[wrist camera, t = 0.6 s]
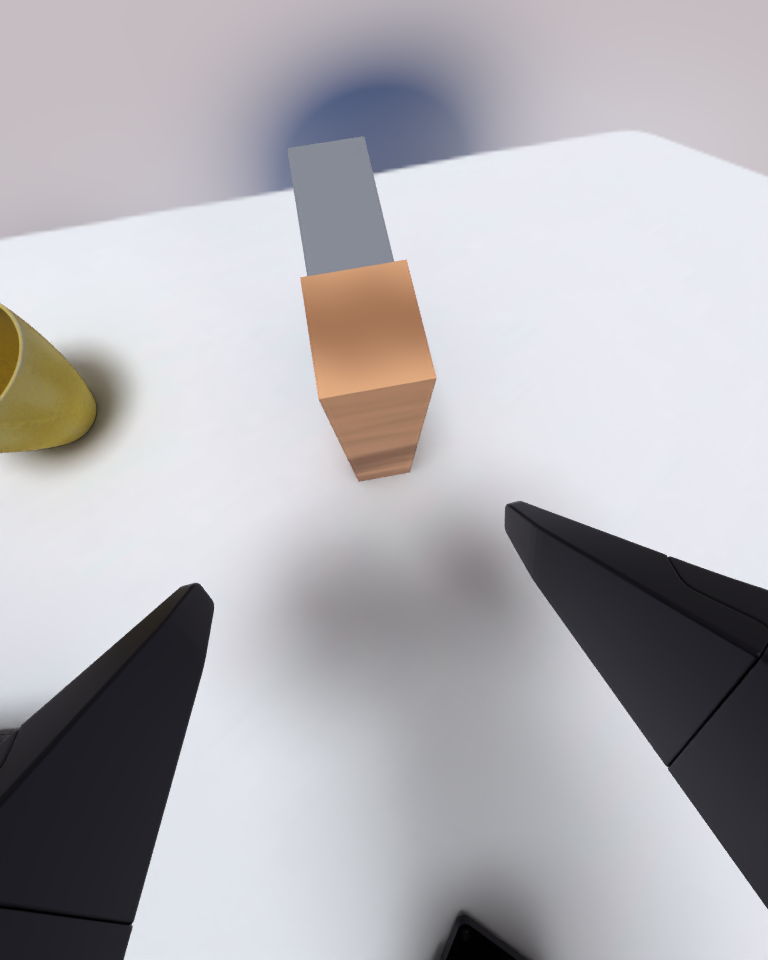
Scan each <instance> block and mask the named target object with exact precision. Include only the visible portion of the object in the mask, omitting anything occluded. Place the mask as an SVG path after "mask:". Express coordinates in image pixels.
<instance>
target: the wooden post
mask: <svg viewBox="0 0 768 960" xmlns="http://www.w3.org/2000/svg"><path fill="white" fill-rule="evenodd" d="M301 285H302V292H303V298H304V305H305V312H306V318H307V325H308V332H309V338H310V345H311V352H312V358H313V365H314V372H315V378H316V385H317V391H318V398H319V401H320V403H321V405H322V407H323V409H324V411H325V413H326V415H327V417H328V419H329V421H330V424H331V426H332V428H333V430H334V432H335V434H336V436H337V438H338V440H339V442H340V444H341V446H342V448H343V450H344V452H345V454H346V456H347V459H348V461H349V463H350V465H351V467H352V469H353V471H354V473H355V475H356V477H357V479H358V481H364V480H370V479H375V478H380V477H386V476H391V475H397V474H402V473H407V472H410V469H411V465H412V462H413V458H414V455H415V451H416V448H417V444H418V441H419V437H420V434H421V430H422V427H423V423H424V420H425V416H426V413H427V409H428V406H429V402H430V399H431V395H432V392H433V388H434V385H435V381H436V374H435V371H434V367H433V363H432V359H431V355H430V351H429V347H428V343H427V339H426V335H425V331H424V327H423V323H422V319H421V315H420V311H419V307H418V303H417V299H416V295H415V291H414V287H413V283H412V279H411V275H410V271H409V267H408V263H407V260H402V261H396V262H390V263H384V264H378V265H372V266H366V267H360V268H354V269H348V270H342V271H336V272H330V273H324V274H319V275H313V276H307V277H301Z"/></svg>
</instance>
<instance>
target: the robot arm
mask: <svg viewBox="0 0 768 960" xmlns="http://www.w3.org/2000/svg"><path fill="white" fill-rule="evenodd" d="M505 530H506V533H507V535H508V537H509V538H510V540H511V542H512V544H513V545H514V547H515V549H516V551H517V553H518V554H519V556H520V558H521V560H522V562H523V563H524V565H525V567H526V569H527V570H528V572H529V574H530V575H531V577H532V579H533V580H534V582H535V583H536V585H537V586H538V588H539V589H540V590H541V592H542V593H543V595H544V596H545V597H546V599H547V600H548V602H549V603H550V604H551V606H552V607H553V609H554V610H555V611H556V613H557V614H558V616H559V617H560V618H561V620H562V621H563V623H564V624H565V625H566V627H567V628H568V630H569V631H570V632H571V634H572V635H573V637H574V638H575V639H576V641H577V642H578V644H579V645H580V646H581V648H582V649H583V651H584V652H585V653H586V655H587V656H588V658H589V659H590V660H591V662H592V663H593V665H594V666H595V667H596V669H597V670H598V672H599V673H600V674H601V676H602V677H603V679H604V680H605V681H606V683H607V684H608V686H609V687H610V688H611V690H612V691H613V693H614V694H615V695H616V697H617V698H618V700H619V701H620V702H621V704H622V705H623V707H624V708H625V709H626V711H627V712H628V714H629V715H630V716H631V718H632V719H633V721H634V722H635V723H636V725H637V726H638V728H639V729H640V730H641V732H642V733H643V735H644V736H645V737H646V739H647V740H648V742H649V743H650V744H651V746H652V747H653V749H654V750H655V751H656V753H657V754H658V756H659V757H660V758H661V760H662V761H663V763H664V764H665V765H666V766H667V767H668V770H669V771H670V773H671V774H672V776H673V777H674V778H675V780H676V781H677V783H678V784H679V785H680V787H681V788H682V790H683V791H684V792H685V794H686V795H687V797H688V798H689V799H690V801H691V802H692V804H693V805H694V806H695V808H696V809H697V811H698V812H699V813H700V815H701V816H702V818H703V819H704V820H705V822H706V823H707V825H708V826H709V827H710V829H711V830H712V832H713V833H714V834H715V836H716V837H717V839H718V840H719V842H720V843H721V844H722V846H723V847H724V849H725V850H726V851H727V853H728V854H729V856H730V857H731V858H732V860H733V861H734V863H735V864H736V865H737V867H738V868H739V870H740V871H741V872H742V874H743V875H744V877H745V878H746V879H747V881H748V882H749V884H750V885H751V886H752V888H753V889H754V891H755V892H756V893H757V895H758V896H759V898H760V899H761V900H762V902H763V903H764V905H765V906H766V907H767V909H768V590H766V589H763V588H760V587H757V586H754V585H751V584H748V583H745V582H742V581H739V580H736V579H733V578H730V577H727V576H724V575H721V574H718V573H715V572H712V571H710V570H707V569H704V568H701V567H698V566H695V565H693V564H690V563H687V562H685V561H682V560H679V559H676V558H674V557H671V556H669V557H667V555H665V554H663V553H660V552H657V551H655V550H652V549H649V548H646V547H644V546H641V545H638V544H636V543H633V542H630V541H628V540H625V539H622V538H619V537H617V536H614V535H611V534H609V533H606V532H603V531H601V530H598V529H595V528H592V527H590V526H587V525H584V524H582V523H579V522H576V521H573V520H571V519H568V518H565V517H563V516H560V515H557V514H555V513H552V512H549V511H546V510H544V509H541V508H538V507H536V506H533V505H530V504H528V503H525V502H522V501H517V502H513V503H509V504H507V505H506V507H505ZM213 613H214V603H213V601H212V599H211V598H210V596H209V595H208V594H207V592H206V591H205V590H204V588H203V587H202V586H201V585H200V584H198V583H192V584H188V585H185V586H182V587H180V588H179V589H178V590H176V591H175V592H174V593H173V594H172V595H171V596H170V597H168V598H167V599H166V600H165V601H164V602H163V603H162V604H160V605H159V606H158V607H157V608H156V609H155V610H153V611H152V612H151V613H150V614H149V615H148V616H147V617H145V618H144V619H143V620H142V621H141V622H140V623H139V624H137V625H136V626H135V627H134V628H133V629H132V630H130V631H129V632H128V633H127V634H126V635H125V636H124V637H122V638H121V639H120V640H119V641H118V642H117V643H116V644H114V645H113V646H112V647H111V648H110V649H109V650H107V651H106V652H105V653H104V654H103V655H102V656H101V657H99V658H98V659H97V660H96V661H95V662H94V663H93V664H91V665H90V666H89V667H88V668H87V669H86V670H84V671H83V672H82V673H81V674H80V675H79V676H78V677H76V678H75V679H74V680H73V681H72V682H71V683H70V684H68V685H67V686H66V687H65V688H64V689H63V690H61V691H60V692H59V693H58V694H57V695H56V696H55V697H53V698H52V699H51V700H50V701H49V702H48V703H47V704H45V705H44V706H43V707H42V708H41V709H40V710H38V711H37V712H36V713H35V714H34V715H33V716H32V717H30V718H29V719H28V720H27V721H26V722H25V723H24V724H22V725H21V727H20V729H17V730H15V731H14V732H13V733H12V734H11V735H10V736H8V737H7V738H6V739H5V740H4V741H3V742H2V743H0V960H124V956H125V952H126V949H127V945H128V941H129V938H130V934H131V931H132V923H133V922H134V919H135V915H136V911H137V908H138V904H139V901H140V897H141V893H142V890H143V886H144V882H145V879H146V875H147V872H148V868H149V864H150V861H151V857H152V853H153V850H154V846H155V842H156V839H157V835H158V832H159V828H160V824H161V821H162V817H163V813H164V810H165V806H166V803H167V799H168V795H169V792H170V788H171V784H172V781H173V777H174V774H175V770H176V766H177V763H178V759H179V755H180V752H181V748H182V744H183V741H184V737H185V734H186V730H187V726H188V723H189V719H190V715H191V712H192V708H193V705H194V701H195V697H196V694H197V690H198V686H199V683H200V679H201V676H202V672H203V668H204V663H205V658H206V653H207V647H208V642H209V636H210V630H211V624H212V618H213ZM465 929H466V930H467V931H466V932H463V930H465ZM440 960H528V959H526V958H525V957H523V956H522V955H521V954H519V953H518V952H517V951H515V950H514V949H512V948H511V947H510V946H508V945H507V944H506V943H504V942H503V941H501V940H500V939H499V938H497V937H496V936H494V935H493V934H492V933H490V932H489V931H488V930H486V929H485V928H483V927H482V926H481V925H479V924H478V923H477V922H475V921H474V920H472V919H471V918H470V917H468V916H466V915H461V916H459V917H458V918H457V920H456V922H455V924H454V927H453V930H452V932H451V935H450V937H449V940H448V942H447V945H446V947H445V950H444V952H443V955H442V957H441V959H440Z"/></svg>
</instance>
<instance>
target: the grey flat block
mask: <svg viewBox="0 0 768 960" xmlns="http://www.w3.org/2000/svg"><path fill="white" fill-rule="evenodd" d="M287 150H288V156H289V163H290V169H291V175H292V182H293V188H294V194H295V201H296V207H297V214H298V220H299V226H300V233H301V239H302V245H303V252H304V258H305V265H306V271H307V276H313V275H319V274H324V273H330V272H336V271H342V270H348V269H354V268H360V267H366V266H372V265H378V264H384V263H390V262H394V259H393V255H392V251H391V247H390V243H389V239H388V234H387V230H386V226H385V222H384V218H383V213H382V209H381V205H380V201H379V197H378V193H377V188H376V184H375V180H374V176H373V172H372V168H371V164H370V160H369V156H368V151H367V147H366V143H365V139H364V137H363V136H362V137H356V138H350V139H343V140H338V141H331V142H324V143H318V144H312V145H306V146H299V147H293V148H287Z"/></svg>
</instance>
